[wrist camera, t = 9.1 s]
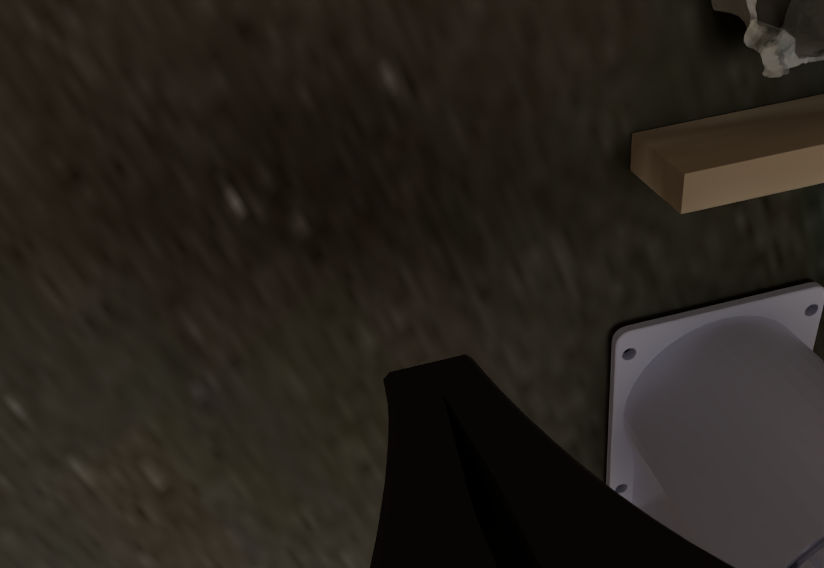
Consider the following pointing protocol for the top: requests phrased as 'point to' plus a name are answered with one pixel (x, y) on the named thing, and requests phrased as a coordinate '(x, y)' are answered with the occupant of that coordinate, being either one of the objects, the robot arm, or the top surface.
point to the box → (733, 155)
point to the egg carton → (782, 33)
